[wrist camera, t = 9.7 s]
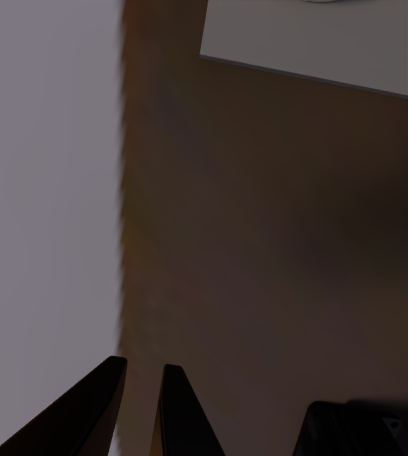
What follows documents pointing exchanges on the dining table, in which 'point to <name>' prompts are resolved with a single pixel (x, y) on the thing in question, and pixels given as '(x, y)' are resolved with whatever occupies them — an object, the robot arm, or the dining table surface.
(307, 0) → the dial
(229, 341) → the dining table surface
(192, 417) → the robot arm
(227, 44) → the panel
